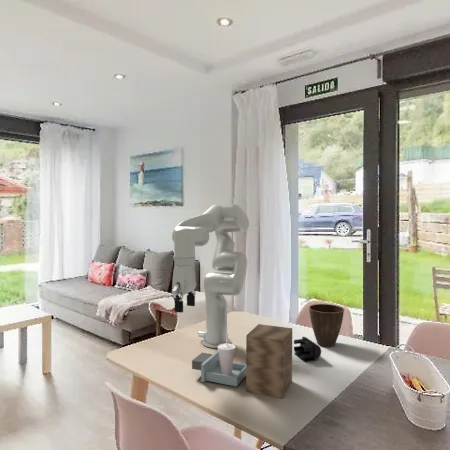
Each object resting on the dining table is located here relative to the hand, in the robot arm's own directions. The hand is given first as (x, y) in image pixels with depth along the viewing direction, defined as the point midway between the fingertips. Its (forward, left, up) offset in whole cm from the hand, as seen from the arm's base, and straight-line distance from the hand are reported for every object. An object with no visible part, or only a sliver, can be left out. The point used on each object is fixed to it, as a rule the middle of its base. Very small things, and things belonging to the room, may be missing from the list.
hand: (185, 308), depth 138 cm
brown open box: (+32, 0, -23) cm, 40 cm away
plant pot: (+44, +48, -23) cm, 69 cm away
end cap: (+39, +30, -23) cm, 55 cm away
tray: (+14, 0, -23) cm, 26 cm away
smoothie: (+16, 0, -22) cm, 27 cm away
